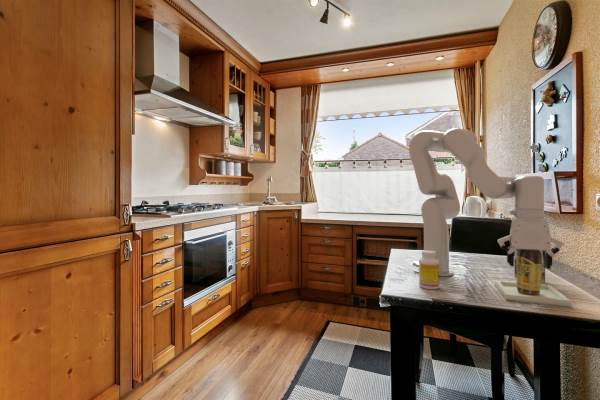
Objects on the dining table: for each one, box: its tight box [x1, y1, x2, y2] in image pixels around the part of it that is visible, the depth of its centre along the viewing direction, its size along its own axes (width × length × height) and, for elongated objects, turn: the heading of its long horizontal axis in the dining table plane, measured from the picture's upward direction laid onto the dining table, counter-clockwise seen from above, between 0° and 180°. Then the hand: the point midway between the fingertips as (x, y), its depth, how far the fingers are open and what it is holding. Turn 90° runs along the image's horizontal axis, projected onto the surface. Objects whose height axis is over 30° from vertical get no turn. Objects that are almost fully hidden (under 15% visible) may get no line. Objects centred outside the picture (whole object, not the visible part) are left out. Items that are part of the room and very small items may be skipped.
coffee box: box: [513, 249, 546, 284], centre depth 113 cm, size 9×6×16 cm
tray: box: [494, 279, 572, 308], centre depth 98 cm, size 16×16×2 cm
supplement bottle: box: [418, 249, 440, 290], centre depth 108 cm, size 7×7×13 cm
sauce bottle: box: [516, 250, 542, 295], centre depth 98 cm, size 6×6×20 cm
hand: (528, 266), depth 98 cm, fingers open, 9 cm apart
